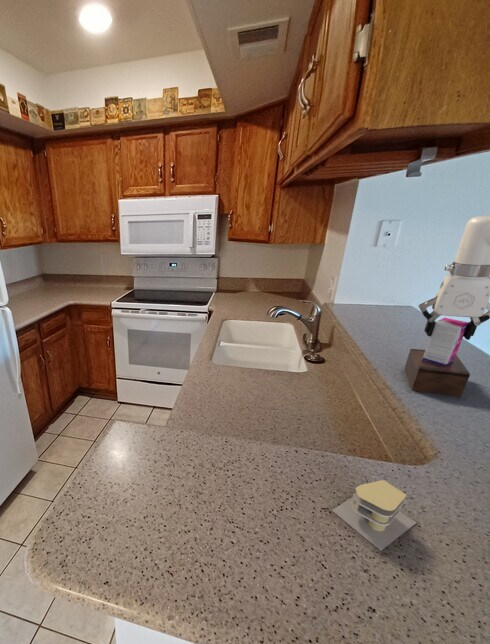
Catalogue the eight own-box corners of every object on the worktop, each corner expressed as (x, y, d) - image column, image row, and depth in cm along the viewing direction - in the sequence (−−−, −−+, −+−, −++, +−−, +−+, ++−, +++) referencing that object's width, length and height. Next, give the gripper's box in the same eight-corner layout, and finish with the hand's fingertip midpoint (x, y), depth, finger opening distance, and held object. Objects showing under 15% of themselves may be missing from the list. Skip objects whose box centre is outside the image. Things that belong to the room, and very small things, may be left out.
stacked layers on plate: (366, 488, 63) (373, 466, 61) (416, 522, 56) (426, 500, 53) (331, 510, 59) (337, 488, 57) (380, 551, 52) (389, 527, 49)
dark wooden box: (447, 374, 100) (455, 353, 96) (460, 397, 88) (470, 374, 85) (404, 369, 104) (410, 348, 101) (411, 390, 93) (419, 367, 90)
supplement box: (446, 366, 89) (460, 326, 84) (421, 359, 94) (433, 321, 89) (455, 360, 92) (469, 321, 87) (430, 354, 96) (442, 316, 91)
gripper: (431, 272, 82) (410, 337, 90) (524, 274, 75) (493, 345, 83) (425, 266, 88) (406, 328, 96) (510, 268, 81) (483, 335, 89)
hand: (446, 335), depth 90 cm, fingers closed on supplement box, 7 cm apart
